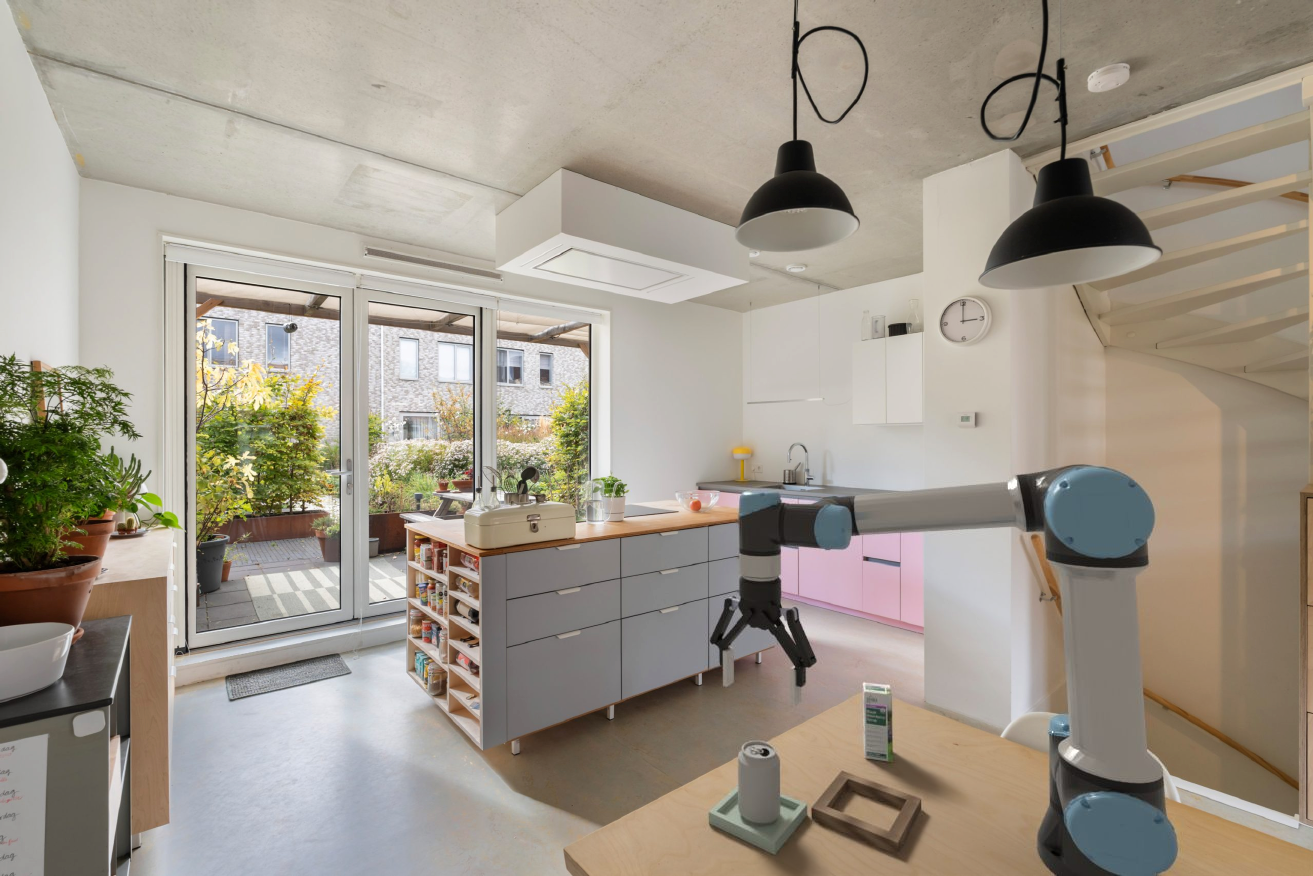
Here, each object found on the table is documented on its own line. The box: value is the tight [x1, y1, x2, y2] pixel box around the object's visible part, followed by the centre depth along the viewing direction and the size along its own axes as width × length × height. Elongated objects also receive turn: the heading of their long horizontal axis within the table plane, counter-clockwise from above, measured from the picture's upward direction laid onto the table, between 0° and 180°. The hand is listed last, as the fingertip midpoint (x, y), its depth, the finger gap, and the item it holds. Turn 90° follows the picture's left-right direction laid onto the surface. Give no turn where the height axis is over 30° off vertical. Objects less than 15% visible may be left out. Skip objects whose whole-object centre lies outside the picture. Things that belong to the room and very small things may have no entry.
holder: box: [810, 770, 922, 855], centre depth 107 cm, size 15×15×2 cm
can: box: [737, 740, 781, 825], centre depth 105 cm, size 8×8×12 cm
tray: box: [708, 784, 808, 856], centre depth 105 cm, size 13×13×2 cm
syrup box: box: [862, 682, 894, 763], centre depth 127 cm, size 6×6×14 cm
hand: (760, 693), depth 105 cm, fingers open, 13 cm apart
